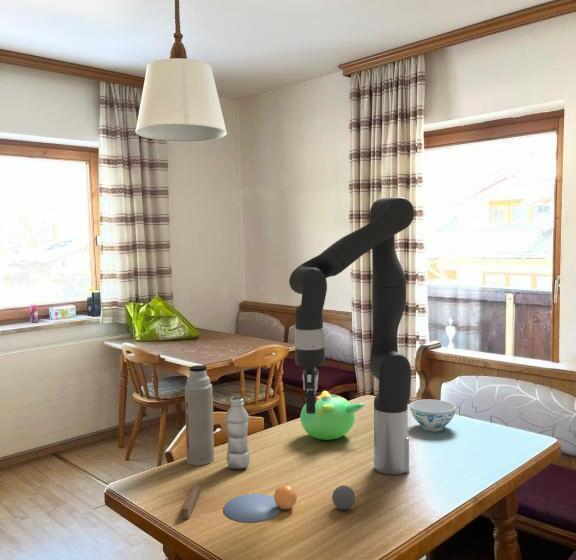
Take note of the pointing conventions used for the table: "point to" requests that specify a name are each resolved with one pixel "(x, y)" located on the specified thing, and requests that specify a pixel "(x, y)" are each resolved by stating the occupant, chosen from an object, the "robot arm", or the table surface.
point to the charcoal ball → (343, 497)
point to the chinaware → (432, 413)
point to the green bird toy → (329, 417)
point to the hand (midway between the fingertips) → (311, 408)
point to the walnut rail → (190, 502)
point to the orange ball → (285, 497)
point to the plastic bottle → (237, 434)
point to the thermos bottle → (199, 417)
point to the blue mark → (251, 508)
